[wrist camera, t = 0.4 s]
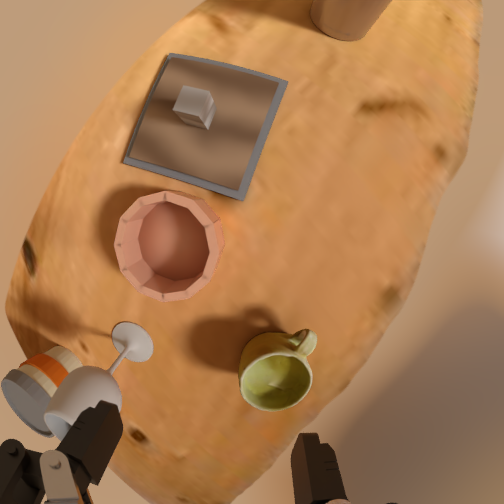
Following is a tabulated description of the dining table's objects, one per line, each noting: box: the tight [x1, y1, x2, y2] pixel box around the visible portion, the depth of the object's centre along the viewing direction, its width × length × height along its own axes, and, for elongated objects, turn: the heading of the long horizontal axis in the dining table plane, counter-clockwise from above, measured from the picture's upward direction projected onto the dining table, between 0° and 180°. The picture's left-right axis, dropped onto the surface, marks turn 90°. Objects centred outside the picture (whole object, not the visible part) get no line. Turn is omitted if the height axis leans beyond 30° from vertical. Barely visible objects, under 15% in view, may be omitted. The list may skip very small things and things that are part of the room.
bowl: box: [114, 191, 225, 302], centre depth 32 cm, size 12×12×6 cm
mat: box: [123, 53, 288, 201], centre depth 31 cm, size 17×17×1 cm
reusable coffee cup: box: [1, 346, 83, 438], centre depth 33 cm, size 13×13×15 cm
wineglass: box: [44, 322, 153, 441], centre depth 28 cm, size 8×8×21 cm
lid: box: [129, 57, 279, 191], centre depth 28 cm, size 15×15×7 cm
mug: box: [238, 329, 317, 411], centre depth 34 cm, size 12×10×10 cm
